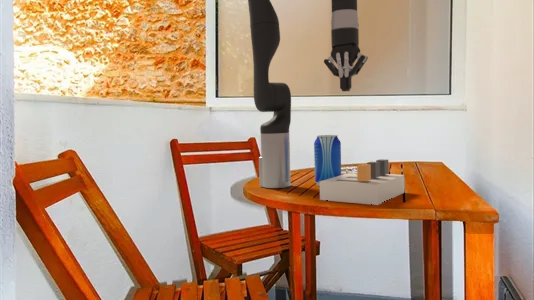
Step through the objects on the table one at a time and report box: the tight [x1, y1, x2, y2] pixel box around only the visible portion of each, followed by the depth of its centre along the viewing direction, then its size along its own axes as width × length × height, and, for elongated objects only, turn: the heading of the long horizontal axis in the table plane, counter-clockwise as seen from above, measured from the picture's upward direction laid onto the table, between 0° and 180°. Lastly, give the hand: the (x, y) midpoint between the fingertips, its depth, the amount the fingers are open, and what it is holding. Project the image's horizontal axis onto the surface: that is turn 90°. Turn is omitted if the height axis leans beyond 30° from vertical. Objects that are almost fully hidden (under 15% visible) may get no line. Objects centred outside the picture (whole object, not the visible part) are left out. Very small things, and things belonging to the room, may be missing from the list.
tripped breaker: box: [356, 163, 371, 181], centre depth 117 cm, size 2×3×4 cm
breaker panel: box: [319, 172, 405, 206], centre depth 124 cm, size 16×20×5 cm
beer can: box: [313, 134, 342, 187], centre depth 146 cm, size 8×8×16 cm
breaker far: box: [375, 159, 389, 175], centre depth 127 cm, size 2×3×4 cm
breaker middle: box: [366, 161, 380, 178], centre depth 122 cm, size 2×3×4 cm
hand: (345, 91), depth 128 cm, fingers closed
